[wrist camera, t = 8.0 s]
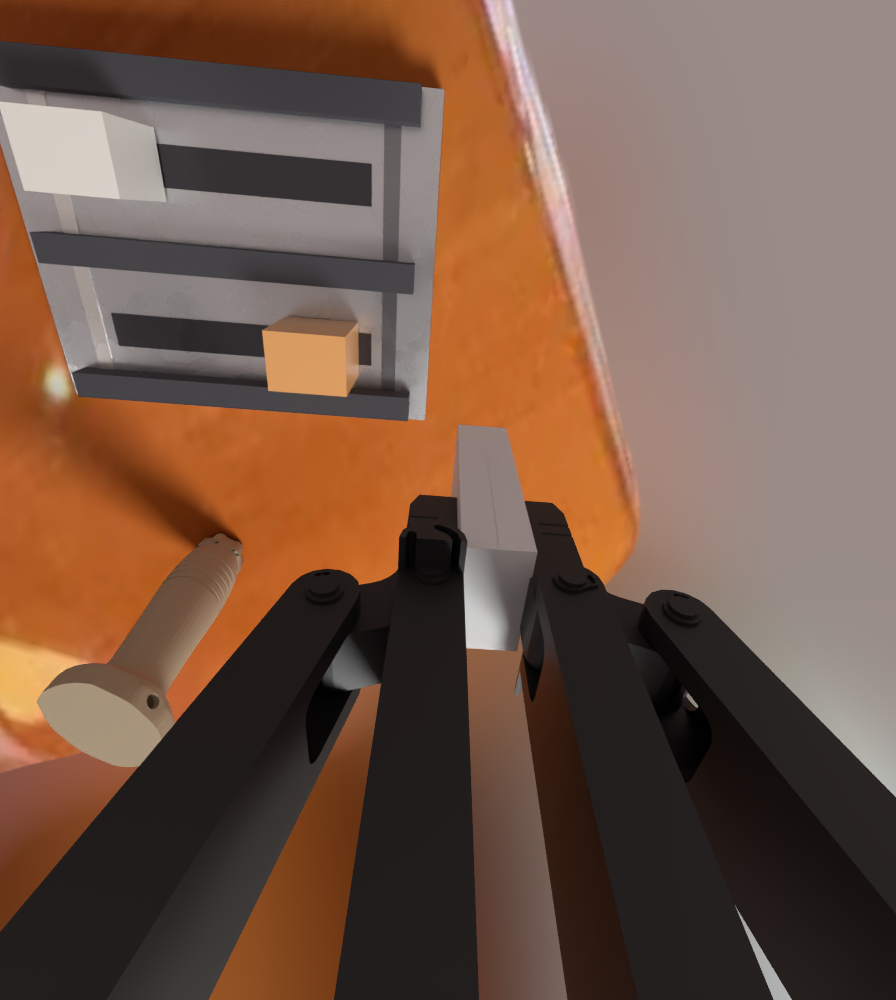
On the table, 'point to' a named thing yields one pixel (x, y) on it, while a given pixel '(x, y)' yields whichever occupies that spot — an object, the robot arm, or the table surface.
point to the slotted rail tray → (236, 92)
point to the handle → (144, 662)
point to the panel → (249, 239)
